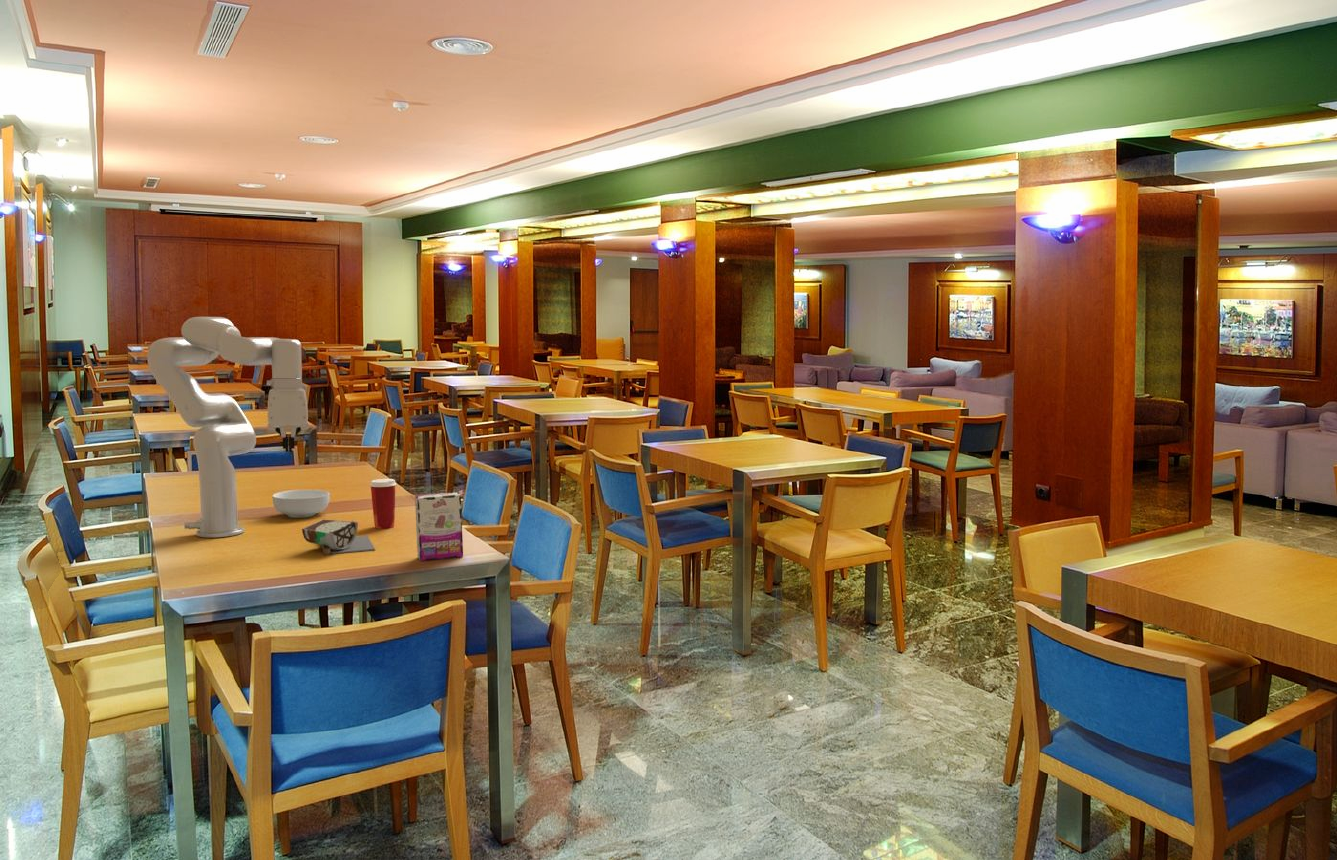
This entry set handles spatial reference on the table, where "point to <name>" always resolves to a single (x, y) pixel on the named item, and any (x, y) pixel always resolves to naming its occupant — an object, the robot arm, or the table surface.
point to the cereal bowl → (301, 502)
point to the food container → (331, 533)
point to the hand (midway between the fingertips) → (288, 451)
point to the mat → (357, 546)
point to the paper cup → (383, 502)
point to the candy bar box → (439, 526)
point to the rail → (326, 549)
